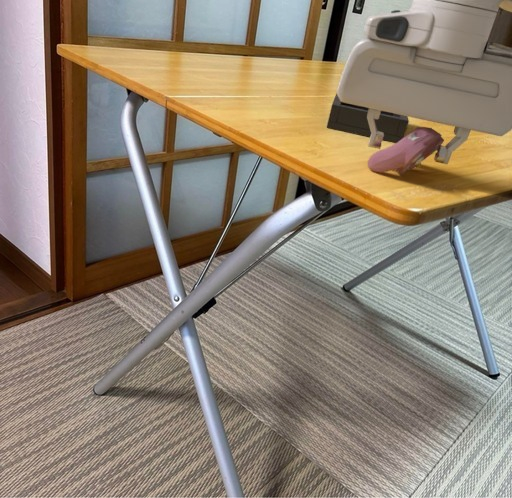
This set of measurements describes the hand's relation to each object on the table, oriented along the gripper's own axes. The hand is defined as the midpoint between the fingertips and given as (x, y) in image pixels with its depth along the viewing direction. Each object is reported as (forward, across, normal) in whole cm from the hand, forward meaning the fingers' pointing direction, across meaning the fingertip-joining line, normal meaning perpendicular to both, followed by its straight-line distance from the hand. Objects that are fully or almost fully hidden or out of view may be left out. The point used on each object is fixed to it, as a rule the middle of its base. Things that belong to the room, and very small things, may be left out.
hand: (406, 154), depth 63 cm
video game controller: (+2, 0, 0) cm, 2 cm away
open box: (+2, +5, -22) cm, 23 cm away
